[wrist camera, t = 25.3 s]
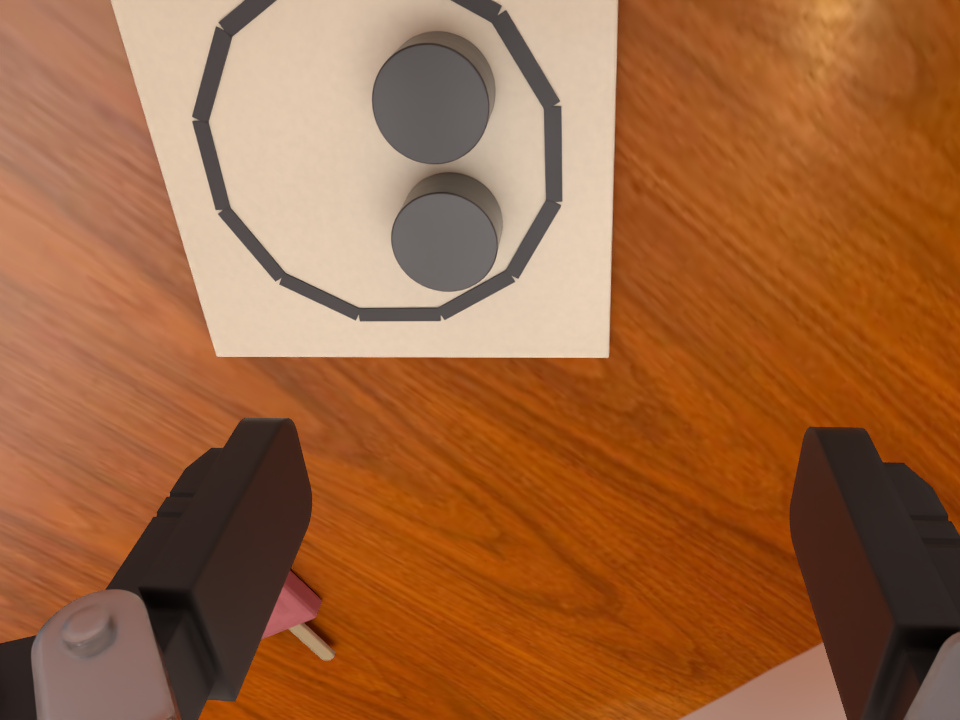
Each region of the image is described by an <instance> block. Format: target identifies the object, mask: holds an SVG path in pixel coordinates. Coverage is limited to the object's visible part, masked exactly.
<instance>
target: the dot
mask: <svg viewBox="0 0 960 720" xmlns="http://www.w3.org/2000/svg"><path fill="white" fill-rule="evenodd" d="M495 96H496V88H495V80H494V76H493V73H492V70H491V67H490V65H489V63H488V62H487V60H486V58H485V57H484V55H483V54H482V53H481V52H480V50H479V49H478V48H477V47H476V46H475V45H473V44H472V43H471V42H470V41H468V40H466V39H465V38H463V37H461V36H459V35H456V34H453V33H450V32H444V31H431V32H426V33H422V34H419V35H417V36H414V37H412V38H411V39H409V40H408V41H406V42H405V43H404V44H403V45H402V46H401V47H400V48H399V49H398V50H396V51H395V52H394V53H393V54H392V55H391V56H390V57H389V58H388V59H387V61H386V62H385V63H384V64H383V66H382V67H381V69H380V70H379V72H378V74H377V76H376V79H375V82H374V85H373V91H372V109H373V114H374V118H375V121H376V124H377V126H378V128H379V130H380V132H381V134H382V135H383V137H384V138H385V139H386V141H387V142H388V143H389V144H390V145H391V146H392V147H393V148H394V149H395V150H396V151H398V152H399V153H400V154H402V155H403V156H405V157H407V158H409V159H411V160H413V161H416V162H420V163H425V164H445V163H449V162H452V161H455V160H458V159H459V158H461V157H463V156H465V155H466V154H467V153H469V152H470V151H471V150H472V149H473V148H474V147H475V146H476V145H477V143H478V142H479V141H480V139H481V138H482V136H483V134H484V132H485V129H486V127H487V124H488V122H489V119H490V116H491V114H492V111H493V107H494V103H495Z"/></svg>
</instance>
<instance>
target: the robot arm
mask: <svg viewBox="0 0 960 720" xmlns="http://www.w3.org/2000/svg"><path fill="white" fill-rule="evenodd" d="M311 511H312V492H311V487H310V482H309V478H308V474H307V470H306V466H305V462H304V458H303V454H302V450H301V446H300V442H299V438H298V434H297V430H296V427H295V424H294V423H293V421H292V420H291V419H289V418H244V419H242V420H241V421H240V422H239V424H238V425H237V427H236V428H235V430H234V432H233V433H232V435H231V436H230V438H229V440H228V441H227V443H226V445H225V446H224V448H211V449H210V450H208V451H207V452H206V453H205V454H203V455H202V456H201V457H200V458H198V459H197V460H196V461H195V462H193V463H192V464H191V465H190V466H188V467H187V468H186V469H185V470H184V472H183V473H182V475H181V476H180V478H179V479H178V481H177V482H176V484H175V485H174V487H173V489H172V490H171V492H170V497H167V498H166V499H165V501H164V502H163V504H162V505H161V507H160V508H159V510H158V511H157V517H153V519H152V520H151V522H150V523H149V525H148V526H147V528H146V529H145V531H144V532H143V534H142V535H141V537H140V538H139V540H138V541H137V543H136V544H135V546H134V547H133V549H132V550H131V552H130V554H129V555H128V557H127V558H126V560H125V561H124V563H123V564H122V566H121V567H120V569H119V570H118V572H117V573H116V575H115V576H114V578H113V579H112V581H111V582H110V584H109V585H108V587H107V588H106V590H102V591H98V592H94V593H91V594H88V595H85V596H83V597H81V598H79V599H76V600H74V601H73V602H71V603H69V604H68V605H66V606H64V607H63V608H62V609H60V610H59V611H58V612H56V613H55V614H54V615H53V616H52V617H51V618H50V619H49V620H48V621H47V622H46V623H45V624H44V625H43V627H42V628H41V629H40V631H39V632H38V634H37V635H35V636H31V637H27V638H23V639H18V640H14V641H9V642H5V643H0V720H198V718H199V716H200V714H201V712H202V709H203V707H204V705H205V703H206V701H207V700H221V701H236V698H237V696H238V693H239V691H240V689H241V686H242V684H243V681H244V679H245V677H246V674H247V672H248V669H249V667H250V665H251V662H252V660H253V657H254V655H255V653H256V650H257V648H258V645H259V643H260V641H261V638H262V636H263V633H264V631H265V629H266V626H267V624H268V622H269V619H270V617H271V614H272V612H273V610H274V607H275V605H276V602H277V600H278V598H279V595H280V593H281V590H282V588H283V586H284V583H285V581H286V578H287V576H288V574H289V571H290V569H291V566H292V564H293V562H294V559H295V557H296V554H297V552H298V550H299V547H300V545H301V542H302V540H303V538H304V535H305V533H306V530H307V528H308V525H309V522H310V517H311ZM790 531H791V538H792V543H793V546H794V550H795V553H796V556H797V559H798V562H799V566H800V569H801V572H802V575H803V579H804V582H805V585H806V588H807V591H808V595H809V598H810V601H811V604H812V608H813V611H814V614H815V617H816V620H817V624H818V627H819V630H820V633H821V636H822V640H823V643H824V646H825V649H826V653H827V656H828V659H829V662H830V665H831V669H832V672H833V675H834V678H835V682H836V685H837V688H838V691H839V694H840V698H841V701H842V704H843V707H844V710H845V714H846V717H847V720H960V536H959V534H958V532H957V530H956V529H955V527H954V525H953V523H952V522H951V521H948V514H947V513H946V511H945V509H944V507H943V506H942V504H941V502H940V500H939V498H938V497H937V495H936V493H935V491H934V490H933V488H932V487H931V486H930V485H929V484H928V483H926V482H925V481H924V480H923V479H922V478H920V477H919V476H918V475H917V474H916V473H915V472H913V471H912V470H911V469H910V468H909V467H908V466H906V465H905V464H904V463H883V462H882V460H881V458H880V456H879V454H878V452H877V450H876V448H875V446H874V444H873V442H872V440H871V438H870V436H869V435H868V433H867V431H866V430H865V429H863V428H844V427H809V428H808V429H807V430H806V432H805V435H804V439H803V443H802V448H801V453H800V458H799V463H798V468H797V473H796V478H795V483H794V489H793V494H792V499H791V504H790Z"/></svg>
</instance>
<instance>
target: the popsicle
mask: <svg viewBox="0 0 960 720" xmlns="http://www.w3.org/2000/svg"><path fill="white" fill-rule="evenodd" d="M320 606H321V599H320V598H319V597H318V596H317V595H316V594H315V593H314V592H313V591H312V590H311V589H310V588H308V587H307V586H306V585H305V584H304V583H303V582H302V581H301V580H300V579H299V578H298V577H297V576H296V575H295V574H294V573H293V572H292V571H289V574H288V576H287V578H286V581H285V583H284V586H283V588H282V590H281V593H280V595H279V598H278V600H277V602H276V605H275V607H274V610H273V612H272V614H271V617H270V619H269V622H268V624H267V626H266V629H265V631H264V633H263V636H262V638H261V639H263V638H266V637H268V636H271V635H273V634H276V633H279V632H281V631H284V630H286V629H289V630H290V631H291V632H292V633H293V634H295V635H296V636H297V637H298V638H299V639H300V640H301V641H302V642H303V643H305V644H306V645H307V646H308V647H309V648H310V649H311V650H312V651H313V652H314V653H316V654H317V655H318V656H319V657H320V658H321V659H323V660H331V659H333V658H334V656H335V651H334V650H333V649H332V648H331V647H329V646H328V645H327V644H326V643H325V642H324V641H323V640H322V639H321V638H320V637H319V636H318V635H316V634H315V633H314V632H313V631H312V630H311V629H310V628H309V627H308V626H307V625H306V624H305V623H304V622H307V621H309V620H312V619H314V618H315V617H316V616H317V614H318V611H319V608H320Z"/></svg>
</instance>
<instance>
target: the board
mask: <svg viewBox="0 0 960 720" xmlns="http://www.w3.org/2000/svg"><path fill="white" fill-rule="evenodd" d="M111 3H112V7H113V10H114V13H115V17H116V20H117V23H118V27H119V30H120V34H121V37H122V40H123V44H124V47H125V50H126V54H127V57H128V60H129V64H130V67H131V71H132V74H133V77H134V81H135V84H136V87H137V91H138V94H139V97H140V101H141V104H142V108H143V111H144V114H145V118H146V121H147V124H148V128H149V131H150V134H151V138H152V141H153V145H154V148H155V151H156V155H157V158H158V161H159V165H160V168H161V171H162V175H163V178H164V182H165V185H166V188H167V192H168V195H169V198H170V202H171V205H172V208H173V212H174V215H175V219H176V222H177V225H178V229H179V232H180V235H181V239H182V242H183V245H184V249H185V252H186V256H187V259H188V262H189V266H190V269H191V272H192V276H193V279H194V282H195V286H196V289H197V293H198V296H199V299H200V303H201V306H202V309H203V313H204V316H205V319H206V323H207V326H208V329H209V333H210V336H211V340H212V343H213V346H214V350H215V353H216V356H217V357H517V358H608V357H609V342H610V303H611V264H612V226H613V187H614V149H615V110H616V72H617V33H618V0H111ZM431 31H444V32H450V33H453V34H456V35H459V36H461V37H463V38H465V39H466V40H468V41H470V42H471V43H472V44H473V45H475V46H476V47H477V48H478V49H479V50H480V52H481V53H482V54H483V55H484V57H485V58H486V60H487V62H488V63H489V65H490V67H491V70H492V73H493V76H494V80H495V88H496V96H495V103H494V107H493V111H492V114H491V116H490V119H489V122H488V124H487V127H486V129H485V132H484V134H483V136H482V138H481V139H480V141H479V142H478V143H477V145H476V146H475V147H474V148H473V149H472V150H471V151H470V152H469V153H467V154H466V155H465V156H463V157H461V158H459V159H458V160H455V161H452V162H449V163H445V164H425V163H420V162H416V161H413V160H411V159H409V158H407V157H405V156H403V155H402V154H400V153H399V152H398V151H396V150H395V149H394V148H393V147H392V146H391V145H390V144H389V143H388V142H387V141H386V139H385V138H384V137H383V135H382V134H381V132H380V130H379V128H378V126H377V124H376V121H375V118H374V114H373V109H372V91H373V85H374V82H375V79H376V76H377V74H378V72H379V70H380V69H381V67H382V66H383V64H384V63H385V62H386V61H387V59H388V58H389V57H390V56H391V55H392V54H393V53H394V52H395V51H396V50H398V49H399V48H400V47H401V46H402V45H403V44H404V43H405V42H406V41H408V40H409V39H411V38H412V37H414V36H417V35H419V34H422V33H426V32H431ZM445 172H453V173H460V174H464V175H467V176H470V177H472V178H474V179H476V180H478V181H479V182H481V183H482V184H483V185H485V186H486V187H487V188H488V189H489V190H490V191H491V192H492V194H493V195H494V196H495V198H496V200H497V202H498V204H499V206H500V209H501V212H502V218H503V229H502V235H501V239H500V244H499V248H498V253H497V257H496V260H495V263H494V265H493V267H492V269H491V270H490V272H489V273H488V274H487V275H486V276H485V278H483V279H482V280H481V281H480V282H479V283H477V284H475V285H474V286H472V287H469V288H467V289H464V290H460V291H454V292H442V291H436V290H432V289H429V288H427V287H424V286H422V285H420V284H418V283H417V282H415V281H414V280H412V279H411V278H410V277H409V276H408V275H407V274H406V273H405V272H404V271H403V270H402V268H401V267H400V265H399V264H398V262H397V260H396V258H395V256H394V253H393V249H392V245H391V231H392V227H393V223H394V221H395V218H396V217H397V215H398V213H399V211H400V209H401V207H402V205H403V203H404V202H405V200H406V198H407V196H408V194H409V193H410V191H411V190H412V189H413V188H414V187H415V186H416V185H417V184H418V183H419V182H420V181H422V180H423V179H425V178H427V177H429V176H432V175H434V174H438V173H445Z"/></svg>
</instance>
